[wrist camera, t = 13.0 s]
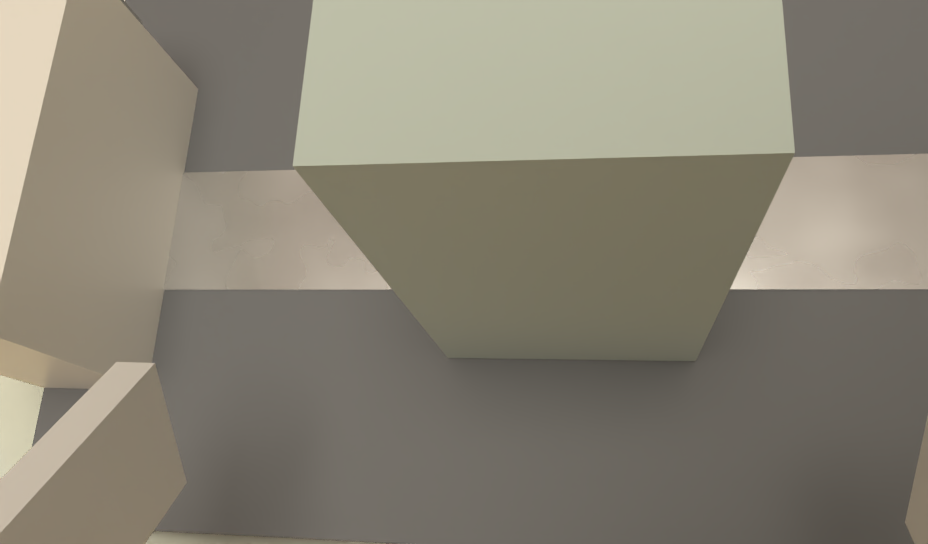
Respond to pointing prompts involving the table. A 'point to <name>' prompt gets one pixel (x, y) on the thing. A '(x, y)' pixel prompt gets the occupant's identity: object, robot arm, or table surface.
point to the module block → (550, 163)
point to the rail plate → (408, 344)
